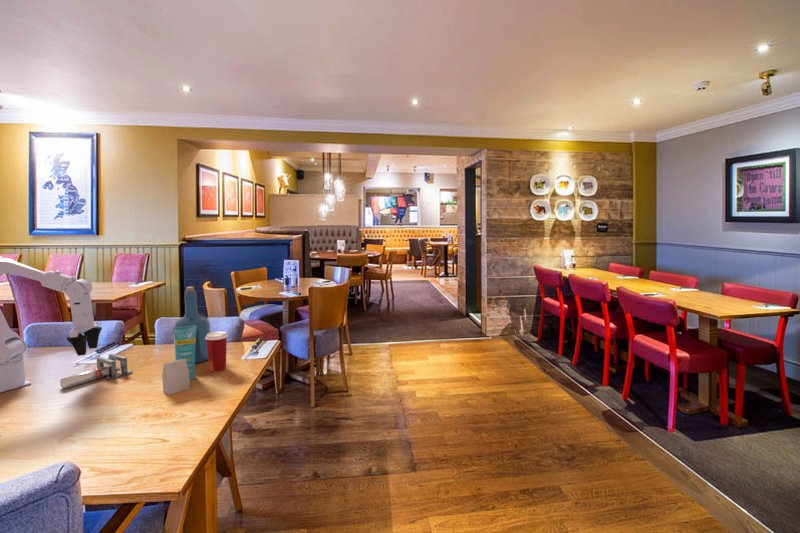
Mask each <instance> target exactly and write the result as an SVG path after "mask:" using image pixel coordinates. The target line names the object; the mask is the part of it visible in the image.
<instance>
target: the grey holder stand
mask: <svg viewBox="0 0 800 533" xmlns="http://www.w3.org/2000/svg"><path fill="white" fill-rule="evenodd" d="M95 359H96V369H98V368H102V367H105V365H104V364H106V365H107V366H108V370H109V376H105V377H104V379H105V380H107V381H111V380H112V381H113V380H114V379H115V380H116V379H119V378H121V377H122V376H121V375H118V374H117V373H116V371H115V361H113V360H110V359H109V358H106V357H103V356H98V357H96V358H95Z"/></svg>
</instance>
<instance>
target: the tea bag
mask: <svg viewBox="0 0 800 533" xmlns="http://www.w3.org/2000/svg"><path fill="white" fill-rule="evenodd" d="M161 374H162V391H163V393H164V394H166V395H167V396H169V395H173V394H176V393H179V392H183V391H186V390H189V389H190V387H191V386H190V380H189V370H188V366H187V362H186V359H181V360H177V361H176V360H174V361H171V362H170V361H169V362H167V363H163V368H162V373H161Z"/></svg>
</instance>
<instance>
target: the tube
mask: <svg viewBox="0 0 800 533" xmlns="http://www.w3.org/2000/svg"><path fill="white" fill-rule="evenodd" d="M196 329H197V325H193V326H186V327H176V328H174V327H172V333H173V339H174V338H175V344H176V351H177V360H181V359H186V362H187V366H188V370H189V381H191V380H193V379H195V376H196V374H195V372H196V365H195V364H196V363H195V342H196Z"/></svg>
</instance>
